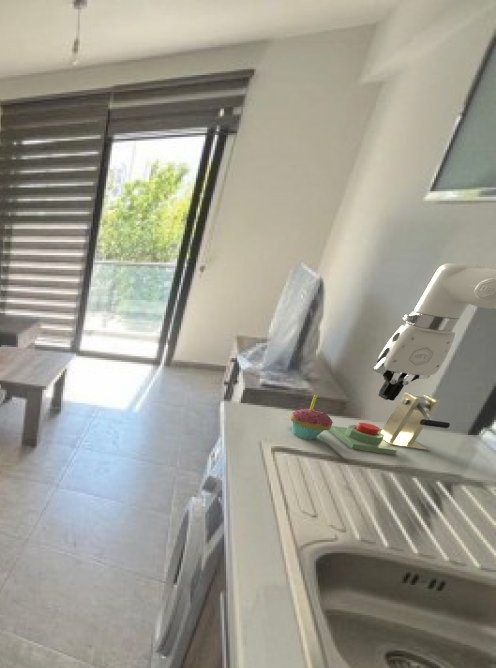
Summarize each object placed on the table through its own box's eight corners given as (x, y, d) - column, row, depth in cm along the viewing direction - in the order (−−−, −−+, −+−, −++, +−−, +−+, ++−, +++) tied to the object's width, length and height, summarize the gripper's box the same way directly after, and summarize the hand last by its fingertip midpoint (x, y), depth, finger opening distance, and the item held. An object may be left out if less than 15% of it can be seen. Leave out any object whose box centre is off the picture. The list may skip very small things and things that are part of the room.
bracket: (424, 453, 120) (456, 406, 114) (387, 448, 122) (416, 401, 116) (399, 436, 129) (428, 392, 122) (365, 431, 130) (391, 387, 124)
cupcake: (294, 440, 123) (316, 397, 117) (276, 426, 130) (297, 385, 124) (330, 445, 122) (355, 401, 116) (311, 430, 129) (333, 388, 123)
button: (379, 437, 119) (383, 430, 118) (360, 434, 119) (364, 428, 119) (370, 430, 122) (373, 424, 121) (352, 427, 123) (355, 421, 122)
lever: (444, 431, 114) (452, 423, 113) (420, 427, 115) (427, 420, 114) (423, 405, 121) (431, 397, 120) (400, 402, 122) (407, 394, 121)
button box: (391, 458, 117) (401, 443, 115) (349, 451, 119) (357, 437, 117) (366, 438, 126) (374, 425, 124) (327, 432, 128) (334, 419, 126)
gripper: (402, 322, 106) (358, 399, 115) (484, 330, 102) (433, 408, 111) (382, 315, 112) (342, 388, 121) (458, 322, 109) (411, 397, 118)
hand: (385, 397), depth 116 cm, fingers closed
